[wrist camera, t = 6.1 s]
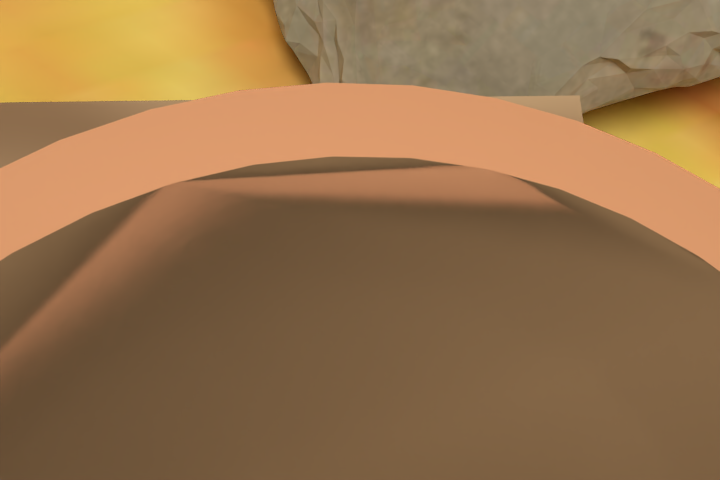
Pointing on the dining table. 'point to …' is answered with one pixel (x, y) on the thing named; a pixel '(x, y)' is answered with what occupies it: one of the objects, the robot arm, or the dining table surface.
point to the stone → (508, 45)
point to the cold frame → (64, 119)
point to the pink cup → (357, 296)
